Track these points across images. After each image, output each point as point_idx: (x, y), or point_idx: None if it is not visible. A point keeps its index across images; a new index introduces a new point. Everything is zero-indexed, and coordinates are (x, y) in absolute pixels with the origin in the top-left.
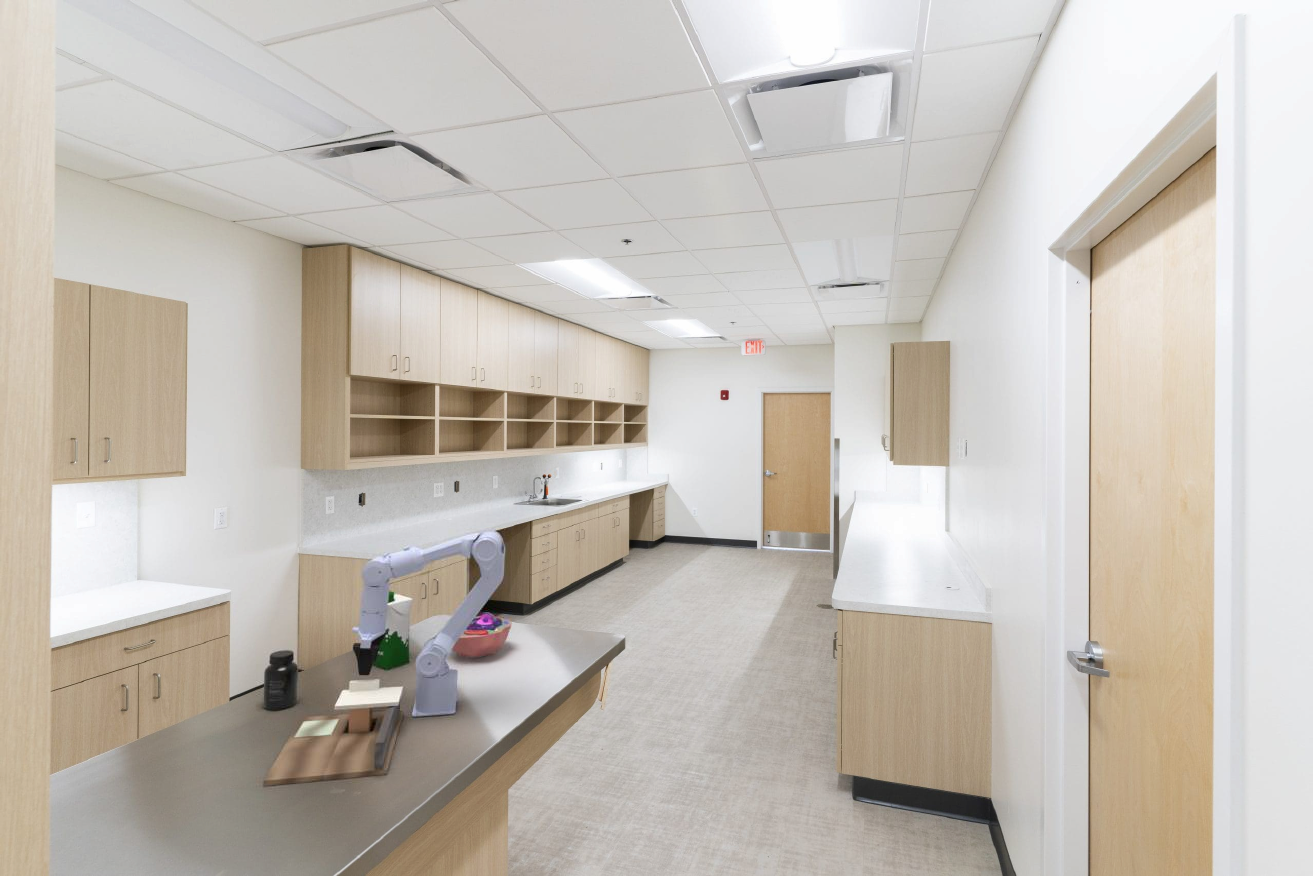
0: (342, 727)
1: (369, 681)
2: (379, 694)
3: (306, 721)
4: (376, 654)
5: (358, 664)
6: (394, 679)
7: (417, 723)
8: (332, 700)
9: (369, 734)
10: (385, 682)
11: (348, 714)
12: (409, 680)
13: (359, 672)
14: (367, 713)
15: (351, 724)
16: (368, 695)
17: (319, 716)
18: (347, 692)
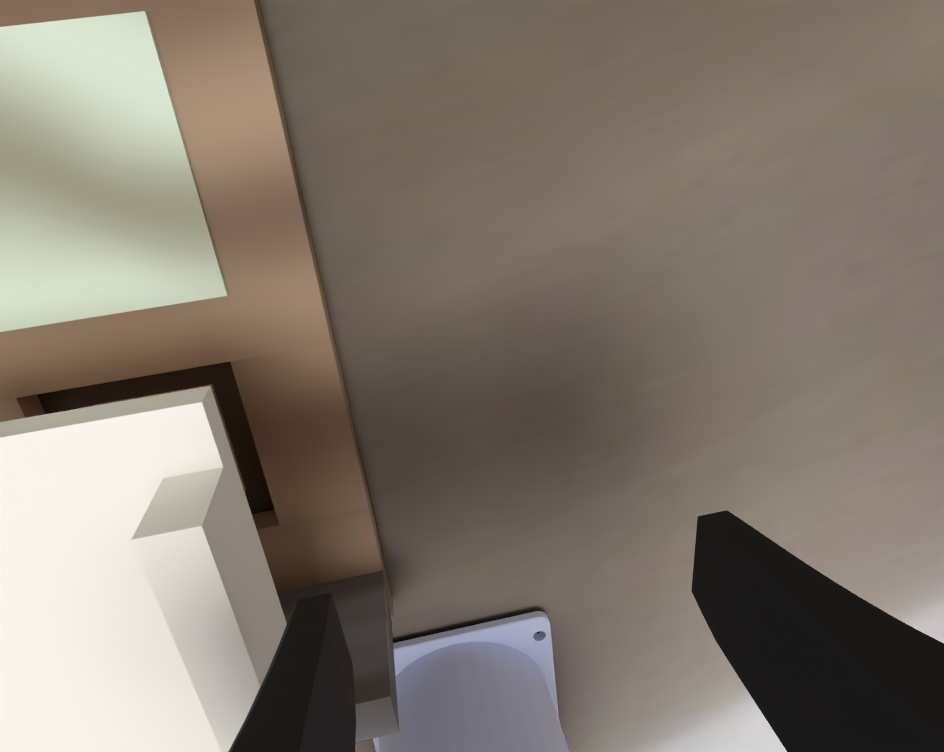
0: (110, 363)
1: (210, 699)
2: (147, 726)
3: (151, 36)
4: (743, 673)
5: (241, 734)
6: (897, 396)
7: None
8: (643, 82)
9: None
10: (867, 357)
11: (324, 328)
12: (856, 482)
13: (288, 630)
14: None
15: None
16: (109, 661)
17: (277, 113)
18: (146, 469)
